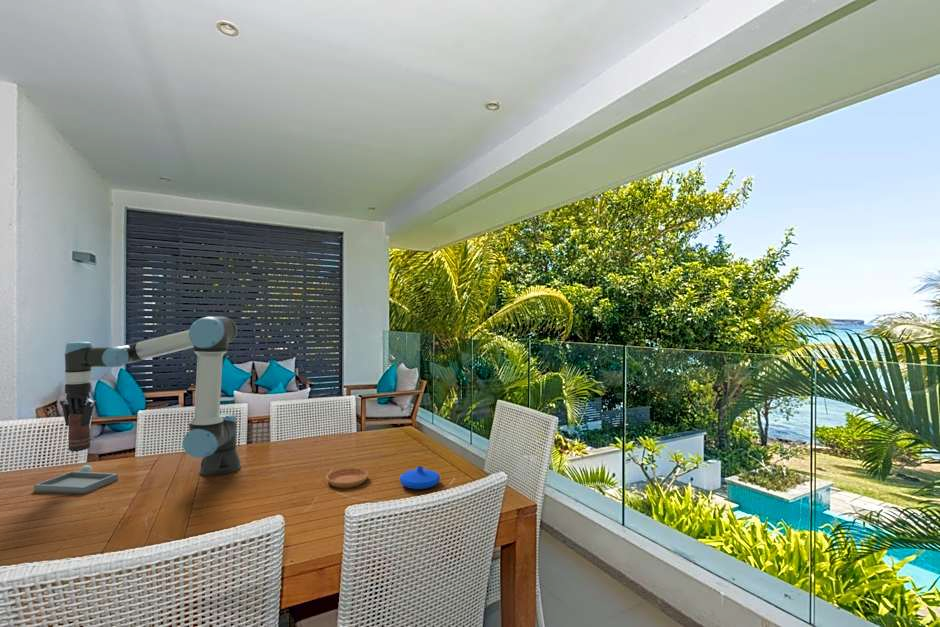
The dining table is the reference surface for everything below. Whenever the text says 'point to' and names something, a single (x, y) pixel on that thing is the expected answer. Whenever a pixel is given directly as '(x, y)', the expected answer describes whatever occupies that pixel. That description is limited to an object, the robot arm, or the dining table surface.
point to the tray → (76, 482)
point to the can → (78, 433)
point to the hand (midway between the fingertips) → (77, 444)
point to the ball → (86, 468)
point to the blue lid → (419, 478)
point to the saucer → (347, 477)
